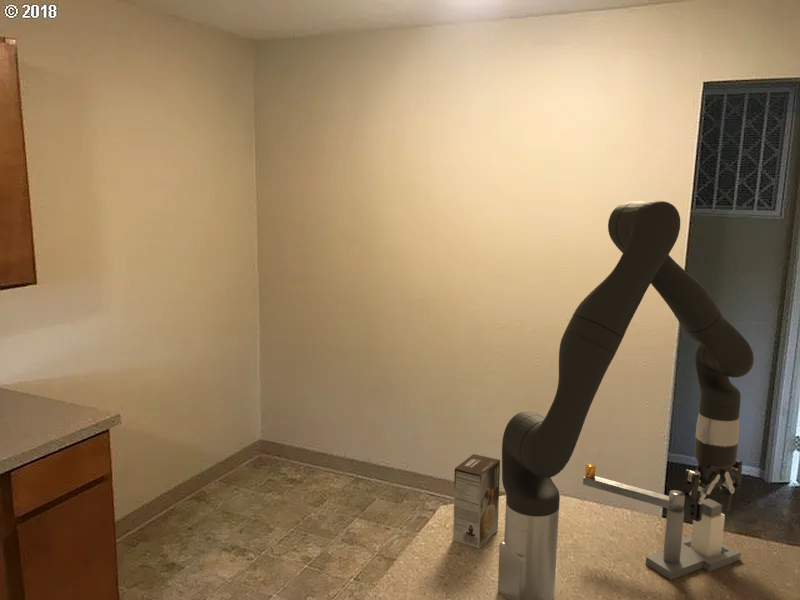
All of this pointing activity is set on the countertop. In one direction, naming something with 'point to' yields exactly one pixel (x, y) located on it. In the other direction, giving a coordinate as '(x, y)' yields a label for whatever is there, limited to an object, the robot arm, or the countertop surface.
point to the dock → (685, 552)
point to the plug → (708, 530)
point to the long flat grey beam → (634, 491)
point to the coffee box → (476, 500)
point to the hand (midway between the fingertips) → (709, 514)
